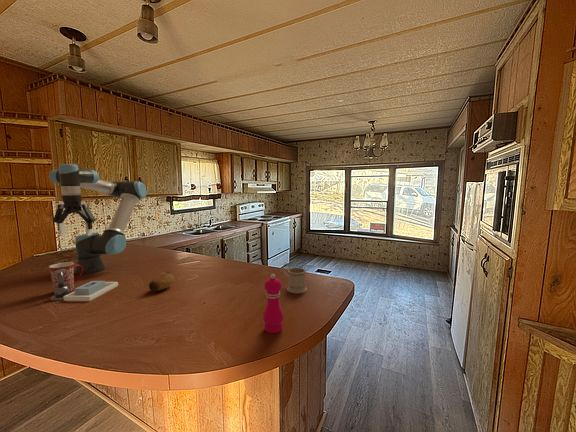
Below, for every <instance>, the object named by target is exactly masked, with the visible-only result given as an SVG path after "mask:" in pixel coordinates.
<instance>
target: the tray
mask: <svg viewBox="0 0 576 432" xmlns="http://www.w3.org/2000/svg"><path fill="white" fill-rule="evenodd" d="M117 287H119V282H118V281H105V288H103V289H101V290H99V291H97V292H95V293H93V294H92V295H90V296H75V290H73V291H71V292H72V293H70V294H68V295H66V296H63V297H64V300H63V301H64V302H91V301H94V300H95V299H97V298H99V297H101V296H102V295H104V294H106V293H108V292H110V291H112V290H113V289H115V288H117Z"/></svg>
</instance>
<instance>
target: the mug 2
mask: <svg viewBox="0 0 576 432" xmlns="http://www.w3.org/2000/svg"><path fill="white" fill-rule="evenodd" d="M285 266H288V268H287V269H288V271H287V272H288V274H287V272H286V271H285ZM282 271H283V273H284V275H286V277H288V287H287V288H286V290H287V292H289V293H291V294H292V293H293V294H304V293H306V292H307V290H308V288H307V286H306V269H305V268H302V267H293V268H292V267H291V266H290V262H285V263H284V264H283V265H282Z"/></svg>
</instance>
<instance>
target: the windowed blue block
mask: <svg viewBox="0 0 576 432" xmlns="http://www.w3.org/2000/svg"><path fill="white" fill-rule="evenodd" d="M105 282H106V281H105V280H91V281H89V282H87V283H84V284H82V285H80V286H78V287H76V288H75V287H74V291H75V296H90V295H92V294H93V293H95V292H97V291H99V290H101V289H103V288H105Z"/></svg>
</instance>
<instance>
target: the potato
mask: <svg viewBox="0 0 576 432" xmlns="http://www.w3.org/2000/svg"><path fill="white" fill-rule="evenodd" d="M174 278H175V277H174V274H173V273H172V271H168V270H165V271H164V270H163V271H162V272H160V273H158V275H156V276H155V277H154V278H152V279H151V280H150V282H149V284H148V288H149V290H151V291H155V292H157V291H158V292H159V291H163V290H165V289H168V288H169V287H170V286H171V285H172V284H173V281H174Z"/></svg>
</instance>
